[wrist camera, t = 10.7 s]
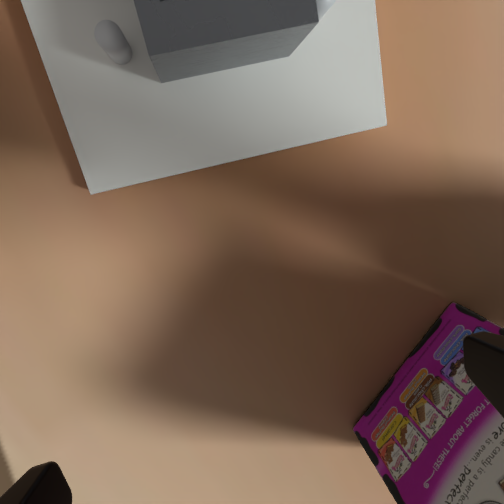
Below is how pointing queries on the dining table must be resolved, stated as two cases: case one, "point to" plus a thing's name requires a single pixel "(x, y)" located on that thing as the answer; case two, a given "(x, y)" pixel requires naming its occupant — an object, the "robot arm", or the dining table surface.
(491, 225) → the dining table surface
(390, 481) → the candy bar box
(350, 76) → the tray
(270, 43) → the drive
